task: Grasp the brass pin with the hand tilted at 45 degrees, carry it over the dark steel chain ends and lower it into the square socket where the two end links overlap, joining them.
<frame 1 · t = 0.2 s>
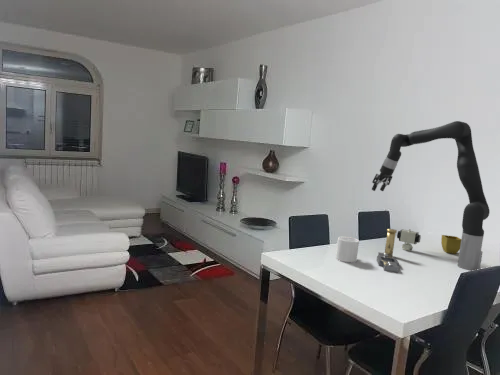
hand: (377, 190, 235), 31 cm above the table, tool tilted 20°, fingers open, 8 cm apart
brass pin: (388, 255, 205), on the table
pneumatic valve: (407, 250, 221), on the table
flower pot: (449, 252, 225), on the table
mug: (347, 259, 192), on the table
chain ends: (387, 264, 189), on the table
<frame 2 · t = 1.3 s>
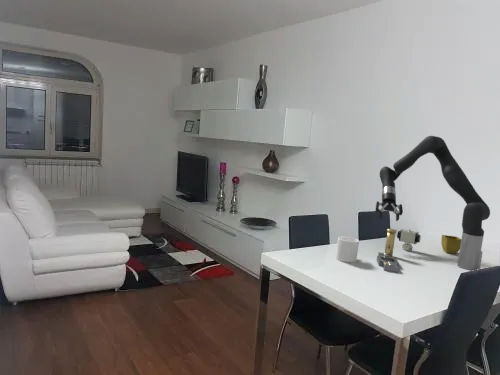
hand: (389, 219, 215), 17 cm above the table, tool tilted 45°, fingers open, 8 cm apart
nothing on the table moved.
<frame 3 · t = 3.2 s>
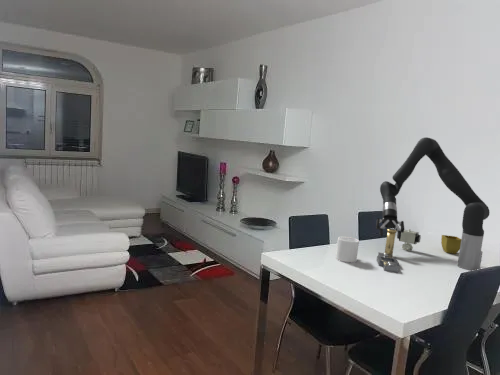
hand: (390, 236, 206), 10 cm above the table, tool tilted 45°, fingers open, 8 cm apart
nothing on the table moved.
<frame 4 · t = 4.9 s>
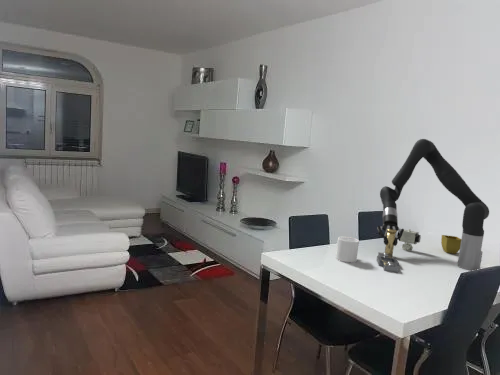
hand: (390, 244, 203), 7 cm above the table, tool tilted 45°, fingers closed on brass pin, 4 cm apart
brass pin: (388, 255, 205), on the table, touching gripper
everything else where it was.
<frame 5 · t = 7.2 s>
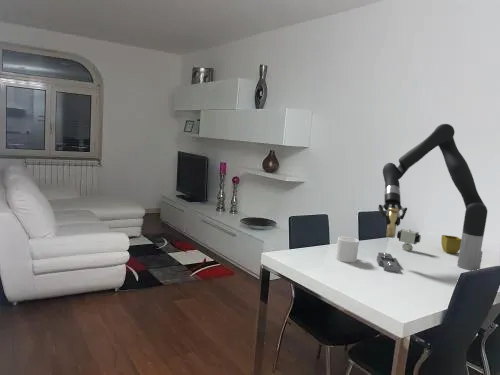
hand: (392, 224, 187), 20 cm above the table, tool tilted 45°, fingers closed on brass pin, 4 cm apart
brass pin: (390, 236, 189), point 13 cm above the table, touching gripper
everything else where it was.
when the fingers open (7 cm above the table, at t = 9.6 s): brass pin stays where it is, resting in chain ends.
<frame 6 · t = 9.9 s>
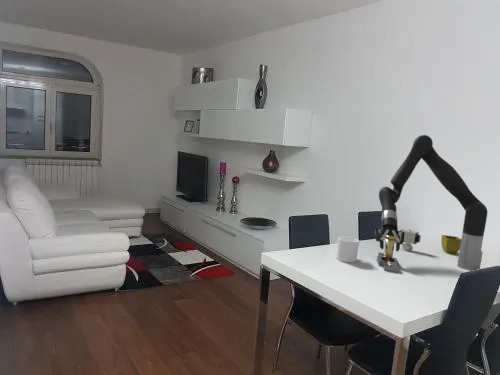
hand: (389, 249, 187), 8 cm above the table, tool tilted 45°, fingers open, 6 cm apart
brass pin: (387, 264, 189), resting in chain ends
everything else where it was.
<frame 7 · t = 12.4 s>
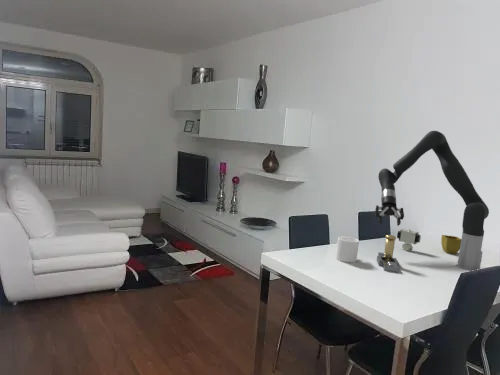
hand: (389, 223, 202), 17 cm above the table, tool tilted 45°, fingers open, 8 cm apart
nothing on the table moved.
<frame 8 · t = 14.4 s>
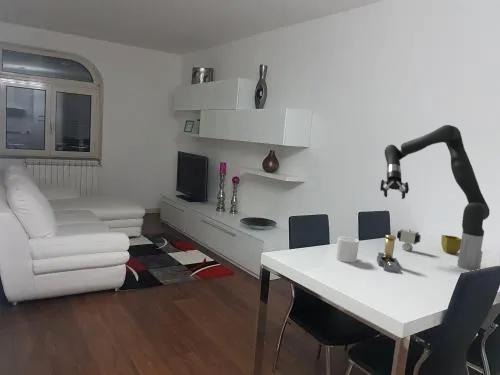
hand: (394, 197, 206), 31 cm above the table, tool tilted 45°, fingers open, 8 cm apart
nothing on the table moved.
at the end: brass pin 0.2 cm off-centre on the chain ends, point 0.0 cm above the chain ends's base; brass pin tilted 0°; the gripper is holding nothing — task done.
